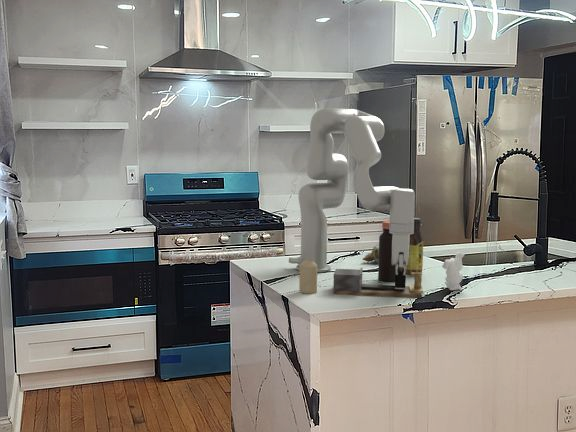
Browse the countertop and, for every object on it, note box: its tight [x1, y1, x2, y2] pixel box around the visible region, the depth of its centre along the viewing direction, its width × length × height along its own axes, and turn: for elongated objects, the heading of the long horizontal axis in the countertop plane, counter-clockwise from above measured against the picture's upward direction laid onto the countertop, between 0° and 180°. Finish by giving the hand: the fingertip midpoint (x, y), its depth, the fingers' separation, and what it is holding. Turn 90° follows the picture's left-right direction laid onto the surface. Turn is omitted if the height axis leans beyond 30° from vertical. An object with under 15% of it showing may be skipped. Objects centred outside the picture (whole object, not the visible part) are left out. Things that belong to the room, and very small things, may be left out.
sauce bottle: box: [405, 217, 424, 275], centre depth 240 cm, size 6×6×20 cm
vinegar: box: [377, 220, 395, 283], centre depth 228 cm, size 7×7×20 cm
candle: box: [298, 260, 318, 295], centre depth 211 cm, size 6×6×10 cm
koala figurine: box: [441, 251, 466, 291], centre depth 216 cm, size 8×7×12 cm
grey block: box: [361, 265, 405, 290], centre depth 211 cm, size 14×4×7 cm, turn 82°
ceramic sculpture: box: [362, 244, 379, 264], centre depth 261 cm, size 11×9×15 cm
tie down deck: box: [332, 267, 424, 299], centre depth 212 cm, size 28×11×7 cm, turn 82°
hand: (399, 284), depth 211 cm, fingers open, 6 cm apart
